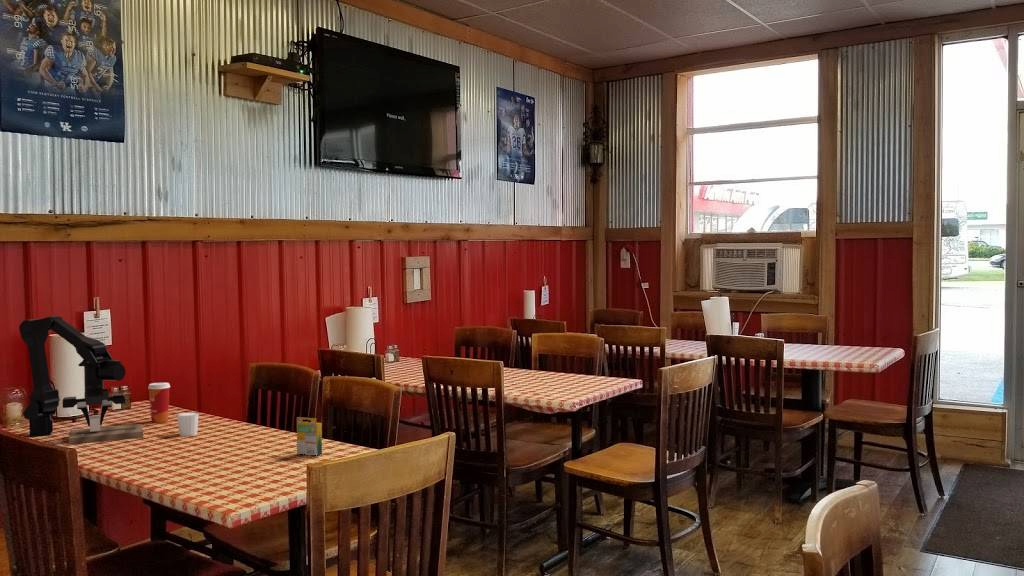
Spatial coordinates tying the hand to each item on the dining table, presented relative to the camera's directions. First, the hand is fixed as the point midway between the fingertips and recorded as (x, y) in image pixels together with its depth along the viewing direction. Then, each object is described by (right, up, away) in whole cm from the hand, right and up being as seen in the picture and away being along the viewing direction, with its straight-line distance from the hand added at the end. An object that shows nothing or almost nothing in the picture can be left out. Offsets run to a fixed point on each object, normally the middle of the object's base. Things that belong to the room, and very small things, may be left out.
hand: (94, 425), depth 274 cm
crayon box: (+78, -5, -24) cm, 82 cm away
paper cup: (+10, -3, +27) cm, 29 cm away
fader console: (+3, -4, +2) cm, 5 cm away
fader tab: (0, -2, 0) cm, 2 cm away
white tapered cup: (+29, -4, +5) cm, 30 cm away
